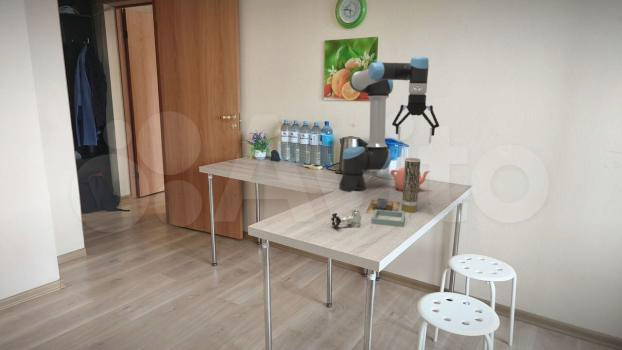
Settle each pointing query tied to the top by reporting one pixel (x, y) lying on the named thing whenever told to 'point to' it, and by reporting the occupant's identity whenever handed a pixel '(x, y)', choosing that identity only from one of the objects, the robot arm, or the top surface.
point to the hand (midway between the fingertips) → (414, 142)
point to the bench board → (395, 208)
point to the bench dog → (382, 204)
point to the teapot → (400, 178)
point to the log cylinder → (411, 185)
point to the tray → (387, 221)
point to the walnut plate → (389, 205)
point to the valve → (347, 219)
